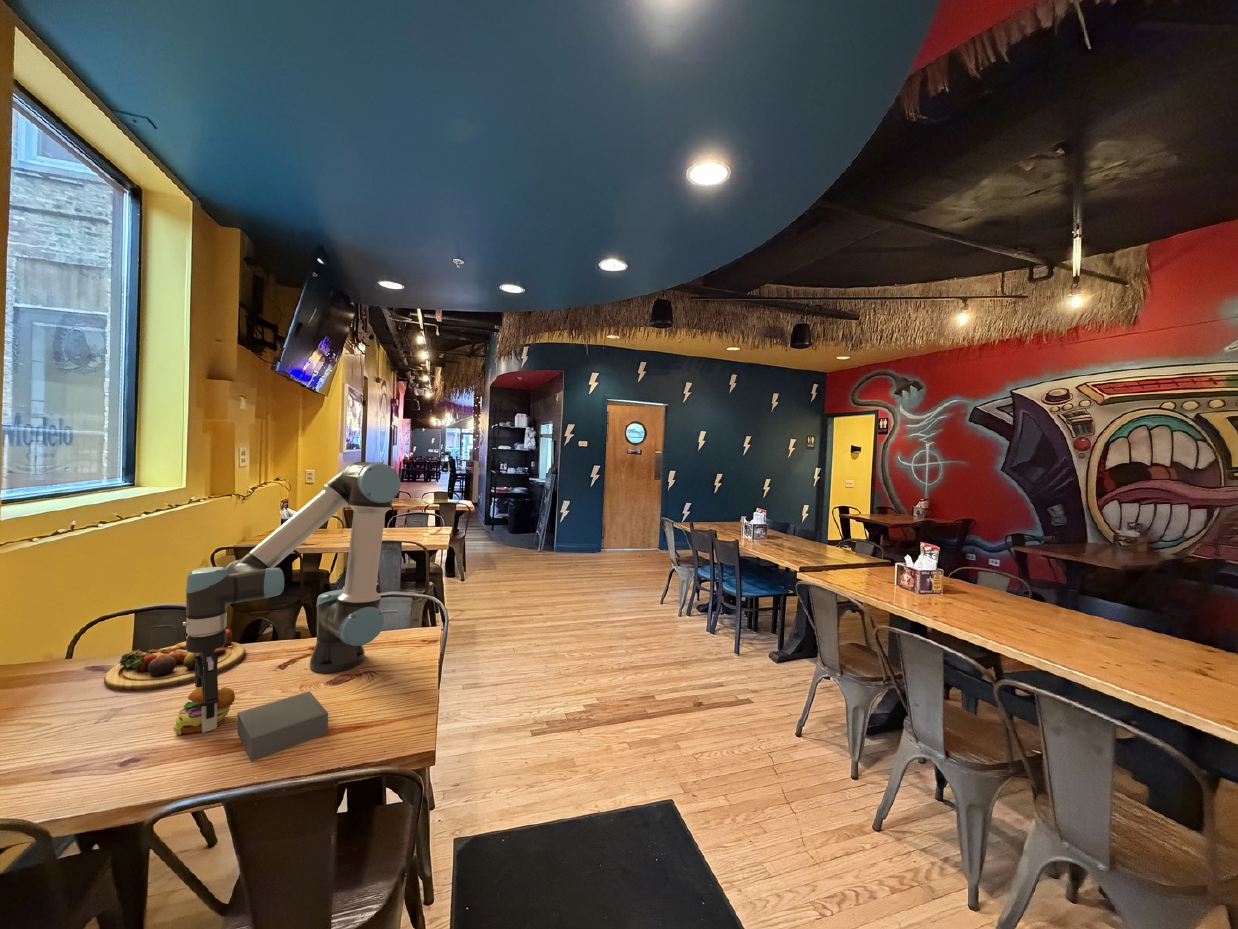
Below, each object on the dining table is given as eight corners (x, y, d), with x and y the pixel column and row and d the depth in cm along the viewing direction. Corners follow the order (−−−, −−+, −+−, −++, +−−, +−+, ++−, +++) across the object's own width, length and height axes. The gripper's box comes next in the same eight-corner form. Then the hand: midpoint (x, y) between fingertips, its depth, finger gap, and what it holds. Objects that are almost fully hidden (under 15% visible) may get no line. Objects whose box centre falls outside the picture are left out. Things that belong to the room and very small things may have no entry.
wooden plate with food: (220, 640, 171) (220, 617, 171) (263, 662, 155) (263, 636, 155) (89, 674, 144) (89, 646, 144) (124, 705, 127) (124, 674, 127)
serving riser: (309, 710, 127) (309, 691, 126) (327, 733, 116) (328, 713, 116) (237, 733, 116) (237, 712, 115) (250, 761, 105) (250, 739, 105)
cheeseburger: (163, 729, 116) (176, 685, 118) (215, 719, 125) (226, 678, 127) (182, 741, 111) (195, 695, 113) (235, 730, 121) (246, 687, 123)
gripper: (180, 623, 124) (180, 709, 124) (192, 649, 108) (191, 747, 109) (218, 616, 129) (217, 699, 130) (234, 640, 114) (233, 733, 114)
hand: (205, 721), depth 119 cm, fingers closed on cheeseburger, 10 cm apart
